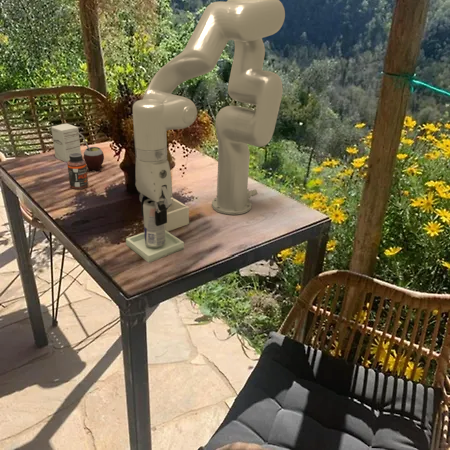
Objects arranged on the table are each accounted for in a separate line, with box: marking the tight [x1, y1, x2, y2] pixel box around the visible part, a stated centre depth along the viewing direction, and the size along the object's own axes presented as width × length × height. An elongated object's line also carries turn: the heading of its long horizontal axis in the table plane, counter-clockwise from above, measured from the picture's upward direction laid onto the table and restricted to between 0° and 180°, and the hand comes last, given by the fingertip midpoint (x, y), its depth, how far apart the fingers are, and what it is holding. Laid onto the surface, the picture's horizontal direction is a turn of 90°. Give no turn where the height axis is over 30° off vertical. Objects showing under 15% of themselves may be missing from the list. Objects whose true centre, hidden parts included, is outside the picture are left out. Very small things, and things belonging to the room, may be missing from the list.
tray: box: [125, 230, 185, 264], centre depth 120 cm, size 11×11×2 cm
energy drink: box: [143, 199, 165, 248], centre depth 118 cm, size 5×5×12 cm
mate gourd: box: [75, 131, 105, 173], centre depth 164 cm, size 8×8×15 cm
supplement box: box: [51, 123, 82, 163], centre depth 175 cm, size 7×7×13 cm
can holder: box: [165, 197, 190, 232], centre depth 132 cm, size 8×8×6 cm
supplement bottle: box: [66, 153, 89, 190], centre depth 151 cm, size 6×6×11 cm
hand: (154, 218), depth 117 cm, fingers open, 5 cm apart
